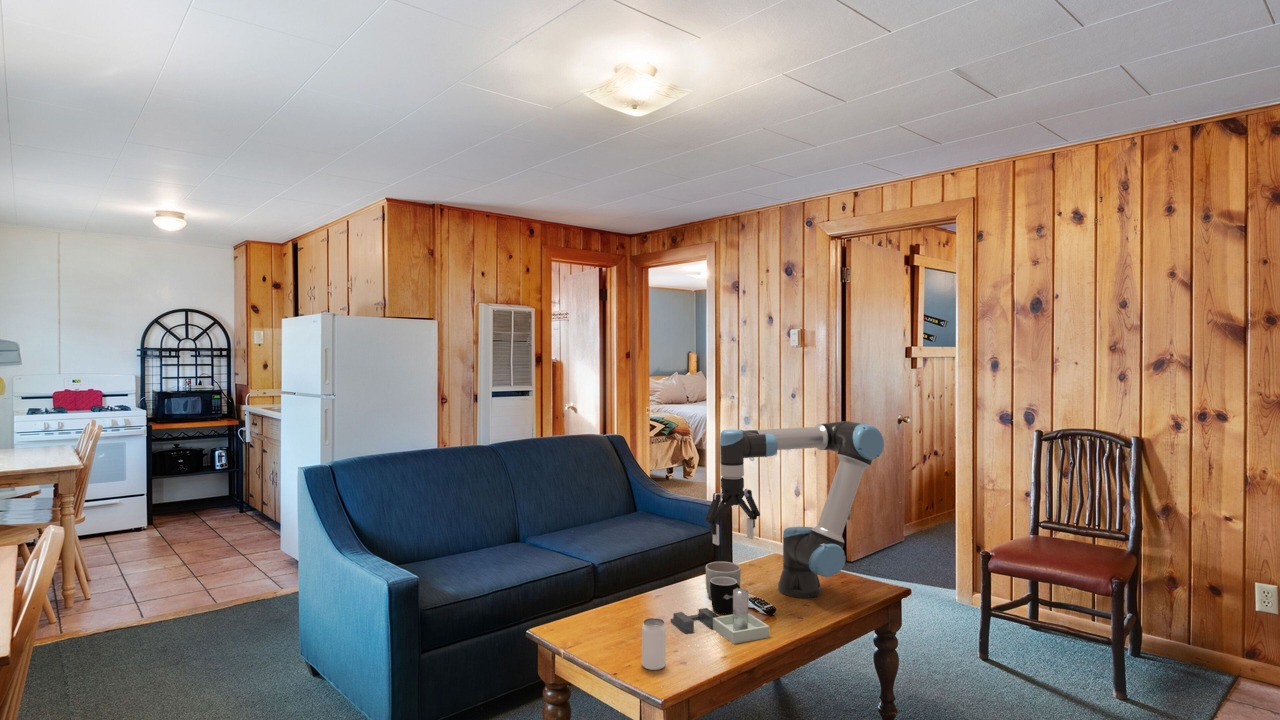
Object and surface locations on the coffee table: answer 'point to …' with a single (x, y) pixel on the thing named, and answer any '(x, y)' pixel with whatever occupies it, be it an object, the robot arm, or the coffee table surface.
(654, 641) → the can
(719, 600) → the mug
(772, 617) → the coffee table surface
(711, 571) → the planter
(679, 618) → the hitch clevis
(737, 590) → the pin
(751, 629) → the tray
